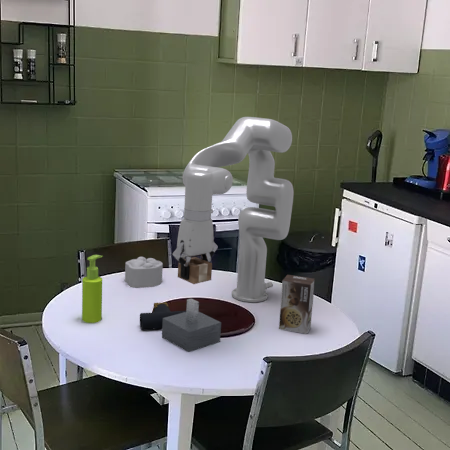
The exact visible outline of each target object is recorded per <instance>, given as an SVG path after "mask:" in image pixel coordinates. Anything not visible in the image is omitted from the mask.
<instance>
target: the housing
mask: <svg viewBox="0 0 450 450" xmlns="http://www.w3.org/2000/svg"><path fill="white" fill-rule="evenodd" d="M199 306H200V302H199V301H198V300H195V299H194V298H188V299H186V309H185V311H186V312H183V313H180V314H176V315H173V316H169V317H165V318H163V324H162V329H161V338H162V339H164V340H166V341H167V342H169V343H171V344H172V345H175V346H177V347H179V348H180V349H182V350H184V351H185V352H186V353H189V352H193V351H196V350H198V349H202V348H205V347H208V346H211V345H213V344H217V343H220V342H221V332H222V330H221V329H222V322H221V321H219V320H217V319H215V318H213V317H211V316H209V315H207V314H204V313H203V312H201V311H199V309H200V308H199Z"/></svg>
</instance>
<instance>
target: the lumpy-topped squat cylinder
mask: <svg viewBox="0 0 450 450" xmlns="http://www.w3.org/2000/svg"><path fill="white" fill-rule="evenodd" d="M163 266H164V264H163V262H162V261H160V260H157V259H155V258H152V257H148V258H146V257H144V256H138V257H137V258H133V259H130V260H127V261H125V267H124V269H125V270H124V282H125V283H126V284H127V285H128V287H129V286H130V287H129V288H132V289H141V288H143V289H144V288H145V289H146V288H153V287H157V286H160V285H161V284H162V283H163V268H164V267H163Z"/></svg>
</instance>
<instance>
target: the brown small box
mask: <svg viewBox="0 0 450 450" xmlns="http://www.w3.org/2000/svg"><path fill="white" fill-rule="evenodd" d="M185 260H186V258H185ZM177 262H178V261H177ZM177 265H178V266H177V278H179V279H182V280H184V281H185V282H188V283H190V284H193V285H196V284H197V285H198V284H201V283H204V282H205V283H206V282H210V281H212V271H213V270H212V269H213V263H212V262H211V261H210V262H208V261H205V260H202V258H201V257H200V258H199V257H197V256H191V259H190V262H189V264H188V266H190V271H189V280H186V279H184V278H181V276H180V275H181V274H180V273H181V264H179V262H178V263H177Z"/></svg>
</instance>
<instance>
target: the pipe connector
mask: <svg viewBox="0 0 450 450" xmlns="http://www.w3.org/2000/svg"><path fill="white" fill-rule="evenodd" d="M183 312H186V310H174V311H171V309H170V307H169V304H168V303H167V302H163V301H162V302H154V303H153V307H152V312H141V313H139V327H140V330H141V331H147V330H160V329H161V330H162V324H163V318H165V317H169V316H173V315H176V314H180V313H183Z"/></svg>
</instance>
